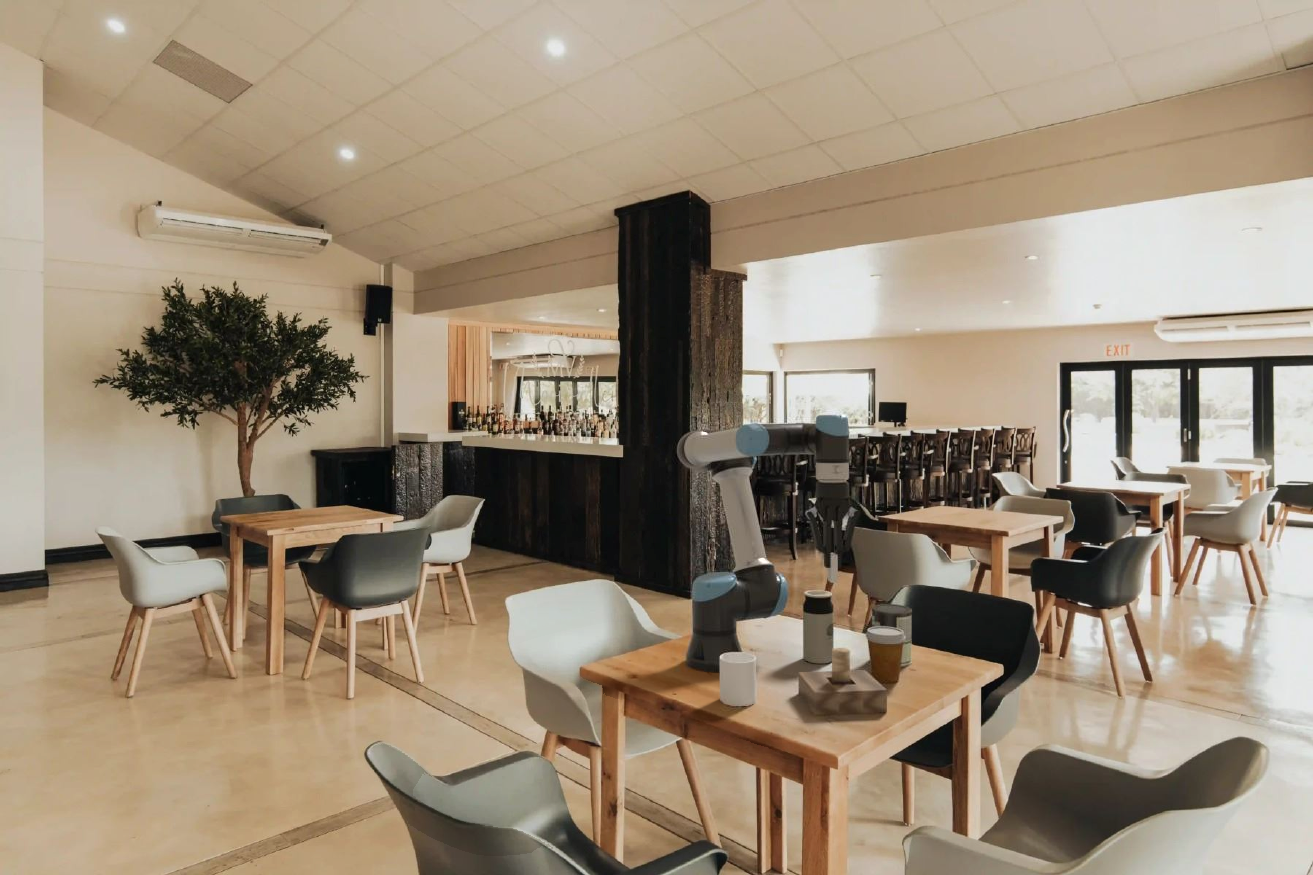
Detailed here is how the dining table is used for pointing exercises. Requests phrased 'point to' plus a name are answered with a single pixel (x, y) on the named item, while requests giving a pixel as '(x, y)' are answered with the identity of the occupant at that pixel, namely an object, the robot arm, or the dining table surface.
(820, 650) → the travel mug
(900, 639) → the disposable coffee cup
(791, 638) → the dining table surface
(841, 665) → the peg
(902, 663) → the coffee can
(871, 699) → the board
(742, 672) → the cup
